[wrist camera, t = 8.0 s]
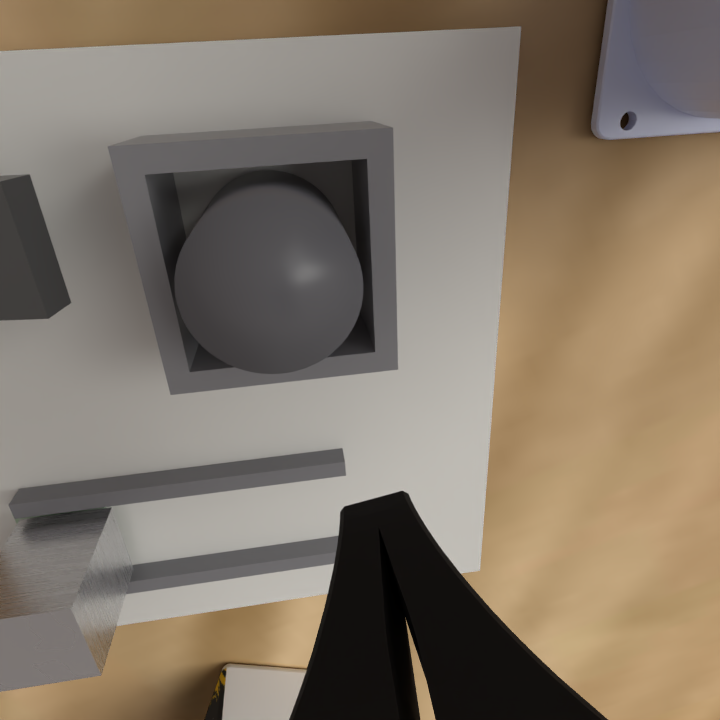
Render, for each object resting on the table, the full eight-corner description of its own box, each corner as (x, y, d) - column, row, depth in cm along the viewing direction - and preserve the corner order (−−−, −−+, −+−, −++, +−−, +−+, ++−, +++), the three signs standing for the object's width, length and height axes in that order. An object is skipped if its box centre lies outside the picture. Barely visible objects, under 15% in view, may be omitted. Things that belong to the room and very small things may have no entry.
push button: (338, 164, 14) (358, 188, 11) (347, 304, 16) (367, 364, 12) (186, 175, 14) (154, 204, 10) (213, 317, 16) (194, 383, 12)
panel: (499, 32, 15) (580, 10, 11) (468, 544, 24) (506, 633, 20) (-194, 66, 13) (-400, 54, 9) (58, 604, 22) (10, 715, 18)
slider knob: (111, 507, 18) (71, 608, 14) (133, 569, 19) (101, 675, 16) (19, 519, 18) (-46, 626, 14) (48, 581, 19) (-5, 692, 16)
